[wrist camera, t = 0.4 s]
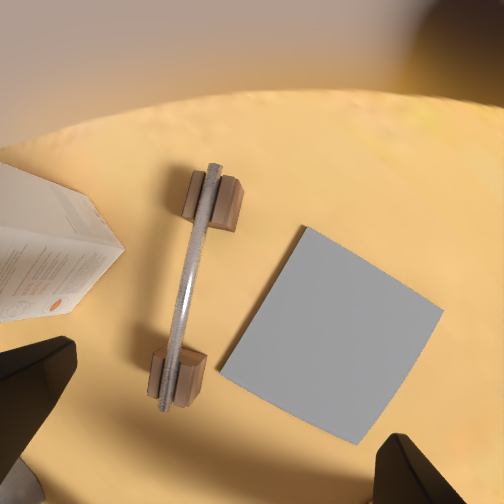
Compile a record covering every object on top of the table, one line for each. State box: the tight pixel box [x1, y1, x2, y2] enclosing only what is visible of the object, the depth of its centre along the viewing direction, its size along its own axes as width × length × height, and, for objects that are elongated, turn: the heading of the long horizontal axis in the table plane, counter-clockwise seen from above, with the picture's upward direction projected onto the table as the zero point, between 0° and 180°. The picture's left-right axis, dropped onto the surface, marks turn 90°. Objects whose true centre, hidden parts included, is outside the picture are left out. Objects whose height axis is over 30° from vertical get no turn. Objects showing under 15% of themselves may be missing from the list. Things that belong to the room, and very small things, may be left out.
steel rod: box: [157, 163, 223, 412], centre depth 19 cm, size 16×1×1 cm, turn 167°
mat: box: [219, 226, 444, 445], centre depth 21 cm, size 12×12×1 cm
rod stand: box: [147, 170, 244, 408], centre depth 21 cm, size 15×3×3 cm, turn 167°
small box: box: [0, 162, 125, 323], centre depth 17 cm, size 8×6×13 cm
